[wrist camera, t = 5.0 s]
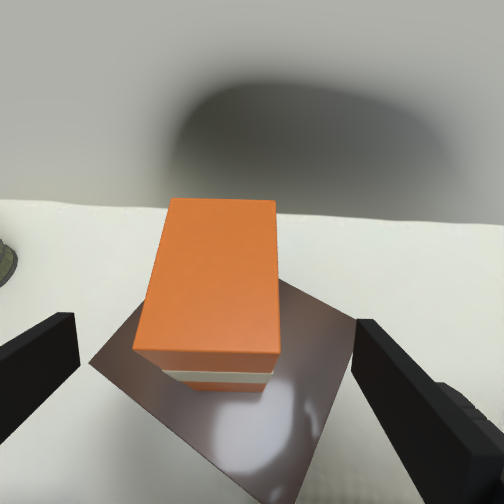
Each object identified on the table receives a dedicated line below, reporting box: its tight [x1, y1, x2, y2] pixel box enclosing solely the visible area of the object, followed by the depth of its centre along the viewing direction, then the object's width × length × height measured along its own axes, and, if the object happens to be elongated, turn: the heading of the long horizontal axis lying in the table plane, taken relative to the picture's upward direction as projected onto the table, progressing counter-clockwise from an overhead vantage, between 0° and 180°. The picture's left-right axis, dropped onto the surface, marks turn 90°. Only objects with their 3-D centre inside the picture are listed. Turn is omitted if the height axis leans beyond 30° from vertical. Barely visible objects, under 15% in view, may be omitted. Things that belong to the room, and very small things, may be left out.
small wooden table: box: [89, 279, 357, 504], centre depth 25 cm, size 17×14×10 cm
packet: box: [132, 198, 281, 393], centre depth 16 cm, size 5×7×12 cm
